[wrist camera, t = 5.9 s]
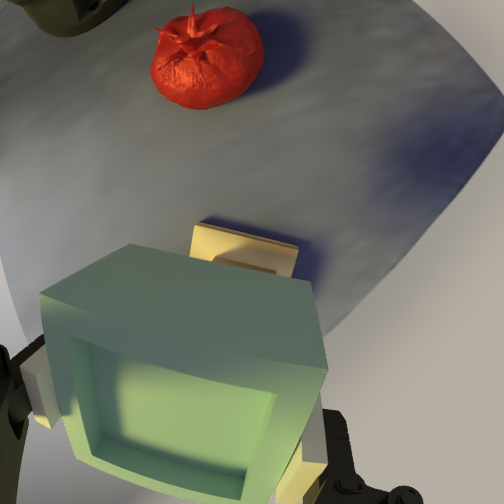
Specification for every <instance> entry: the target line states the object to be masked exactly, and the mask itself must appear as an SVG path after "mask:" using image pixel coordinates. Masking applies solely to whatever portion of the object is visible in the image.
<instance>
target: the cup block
mask: <svg viewBox="0 0 504 504" xmlns="http://www.w3.org/2000/svg"><path fill="white" fill-rule="evenodd" d="M39 299H40V309H41V317H42V325H43V331H44V338H45V344H46V350H47V355H48V360H49V363H50V369H51V374H52V379H53V384H54V388H55V392H56V396H57V400H58V404H59V407H60V411H61V414H62V418H63V421H64V424H65V428H66V431H67V434H68V437H69V440H70V443H71V446H72V449H73V451H74V454H75V457H76V459H78V460H80V461H82V462H85V463H87V464H89V465H91V466H93V467H95V468H98V469H100V470H102V471H104V472H107V473H109V474H112V475H114V476H116V477H119V478H121V479H124V480H127V481H129V482H132V483H135V484H138V485H140V486H143V487H146V488H149V489H152V490H155V491H158V492H161V493H164V494H168V495H171V496H175V497H179V498H182V499H186V500H189V501H193V502H197V503H202V504H267V503H268V501H269V499H270V497H271V496H272V494H273V492H274V490H275V488H276V486H277V484H278V482H279V480H280V478H281V476H282V474H283V472H284V470H285V468H286V466H287V464H288V462H289V460H290V458H291V456H292V454H293V452H294V450H295V448H296V445H297V443H298V441H299V439H300V437H301V435H302V432H303V430H304V428H305V426H306V423H307V421H308V419H309V416H310V414H311V412H312V409H313V407H314V404H315V402H316V400H317V397H318V395H319V392H320V390H321V387H322V385H323V382H324V379H325V377H326V374H327V372H328V365H327V359H326V354H325V349H324V344H323V339H322V334H321V329H320V324H319V319H318V314H317V309H316V305H315V300H314V296H313V291H312V286H311V282H310V281H305V280H300V279H295V278H290V277H285V276H280V275H275V274H270V273H265V272H260V271H256V270H251V269H246V268H241V267H236V266H231V265H227V264H222V263H217V262H212V261H208V260H203V259H198V258H193V257H189V256H184V255H180V254H175V253H170V252H166V251H161V250H157V249H152V248H147V247H143V246H138V245H134V244H129V245H127V246H125V247H123V248H121V249H119V250H117V251H115V252H113V253H111V254H109V255H107V256H105V257H104V258H102V259H100V260H98V261H96V262H94V263H92V264H91V265H89V266H87V267H85V268H83V269H81V270H79V271H78V272H76V273H74V274H72V275H70V276H69V277H67V278H65V279H63V280H61V281H60V282H58V283H56V284H54V285H53V286H51V287H49V288H47V289H46V290H44V291H42V292H40V293H39Z"/></svg>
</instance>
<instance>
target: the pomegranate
mask: <svg viewBox="0 0 504 504" xmlns="http://www.w3.org/2000/svg"><path fill="white" fill-rule="evenodd" d="M154 30H156V31H158V32H159V33H160V37H159V40H158V47H157V49H156V51H155V54H154V60H153V62H152V64H151V67H150V71H151V77H152V80H153V82H154V84H155V86H156V87H157V89H158V91H159V92H160V93H161V94H163V95H164V96H165V97H166V98H167V99H168V100H169V101H171V102H174V103H177V104H179V105H180V106H182V107H184V108H188V109H194V110H206V109H209V108H212V107H216V106H219V105H221V104H223V103H225V102H228V101H231V100H233V99H235V98H237V97H238V96H240V95H241V94H243V93H244V92H245V91H246V90H247V89H248V88H249V86H250V85H251V84H252V82H253V81H254V79H255V78H256V76H257V75H258V72H259V70H260V69H261V67H262V64H263V60H264V47H263V44H262V42H261V37H260V34H259V32H258V29H257V28H256V26H255V25H254V24H253V22H252V21H250V20H249V19H248V18H247V16H246V15H245V14H244V13H242V12H239V11H237V10H235V9H232V8H229V7H224V8H222V9H221V8H220V9H212V10H209V11H207V12H205V13H202V14H198V15H194V4H193V7H192V10H191V14H190V16H187V17H186V16H180V17H177V18H174V19H172V20H171V21H170V22H168V23H167V24H166V25H165V26H164V27H163V28H162V30H160V29H154Z"/></svg>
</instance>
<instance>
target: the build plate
mask: <svg viewBox="0 0 504 504" xmlns="http://www.w3.org/2000/svg"><path fill="white" fill-rule="evenodd" d="M298 251H299V249H298V246H296V245H292V244H288V243H284V242H280V241H276V240H272V239H268V238H264V237H259V236H255V235H251V234H247V233H243V232H239V231H235V230H231V229H226V228H222V227H218V226H214V225H210V224H206V223H201V222H198V223H197V224H196V225H195V227H194V233H193V238H192V244H191V250H190V256H189V257H193V258H198V259H203V260H208V261H212V262H217V263H222V264H227V265H231V266H236V267H241V268H246V269H251V270H256V271H260V272H265V273H270V274H275V275H280V276H285V277H290V278H291V276H292V272H293V269H294V265H295V262H296V258H297V255H298Z"/></svg>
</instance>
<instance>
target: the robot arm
mask: <svg viewBox="0 0 504 504" xmlns="http://www.w3.org/2000/svg"><path fill="white" fill-rule="evenodd" d="M6 1H9V2H12V3H15V4H17V5H19V6H21V7H23V9H24V10H25V11H26V13H27V14H28V15H29V16H30V17H31V19H32V20H33V21H34V22H35V23H36V25H37V26H38V27H39V28H40V29H41V30H43V31H44V32H46V33H49V34H51V35H53V36H56V37H72V36H76V35H79V34H81V33H84V32H86V31H88V30H90V29H92V28H93V27H95V26H97V25H98V24H100V23H101V22H102V21H104V20H105V19H106V18H108V17H109V16H110V15H111V14H112V13H113V12H114V11H116V10H117V9H118V8H119V7H120V6H121V4H122V3H123V2H124V1H125V0H6ZM31 411H33V414H34V417H35V420H36V421H38V422H39V423H41V424H43V425H44V426H46V427H48V428H50V429H52V427H53V426H54V425H55V424H56V422H57V421H58V420H59V419H60V417H61V416H62V414H61V411H60V407H59V404H58V400H57V396H56V392H55V388H54V384H53V379H52V374H51V369H50V363H49V360H48V355H47V350H46V344H45V338H44V334H42V335H40V336H39V337H38V338H37V339H35V340H34V342H32V343H30V344H29V345H28V347H25V348H24V349H23V350H22V351H20V352H19V353H18V354H17V355H16V356H14V357H13V358H12V359H11V360H10V357H9V353H8V350H7V348H5V347H4V346H3V345H1V344H0V504H16V497H17V489H18V481H19V474H20V467H21V460H22V455H23V450H24V445H25V440H26V434H27V430H28V426H29V419H28V417H27V416H28V415H29V414H30V412H31ZM347 432H348V429H347V424H346V420H345V419H344V417H343V416H342V414H341V413H340V412H339V411H336V410H328V409H322V404H321V396H320V392H319V395H318V397H317V400H316V402H315V404H314V407H313V409H312V412H311V414H310V416H309V419H308V421H307V423H306V426H305V428H304V430H303V432H302V435H301V437H300V439H299V441H298V443H297V445H296V448H295V450H294V452H293V454H292V456H291V458H290V460H289V462H288V464H287V466H286V468H285V470H284V472H283V474H282V476H281V478H280V480H279V482H278V484H277V489H276V503H283V504H299V502H300V501H301V500H302V499H303V504H423V499H422V496H421V495H420V493H419V492H418V491H417V490H415V489H414V488H412V487H409V486H398V487H396V488H394V489H393V490H392V491H391V492H387V491H382V490H378V489H375V488H372V487H369V486H367V485H366V484H365V482H364V480H363V479H362V478H361V477H360V476H359V475H358V474H356V472H355V468H354V462H353V456H352V451H351V445H350V441H349V434H348V433H347Z"/></svg>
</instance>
